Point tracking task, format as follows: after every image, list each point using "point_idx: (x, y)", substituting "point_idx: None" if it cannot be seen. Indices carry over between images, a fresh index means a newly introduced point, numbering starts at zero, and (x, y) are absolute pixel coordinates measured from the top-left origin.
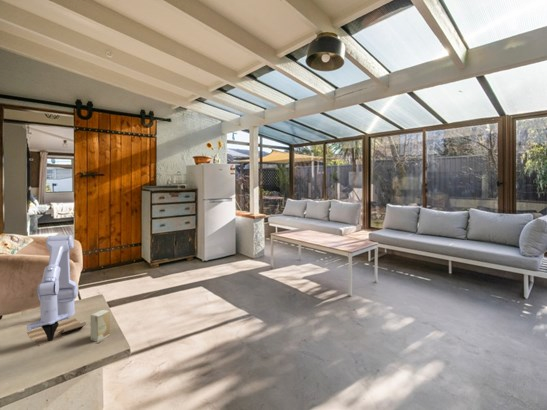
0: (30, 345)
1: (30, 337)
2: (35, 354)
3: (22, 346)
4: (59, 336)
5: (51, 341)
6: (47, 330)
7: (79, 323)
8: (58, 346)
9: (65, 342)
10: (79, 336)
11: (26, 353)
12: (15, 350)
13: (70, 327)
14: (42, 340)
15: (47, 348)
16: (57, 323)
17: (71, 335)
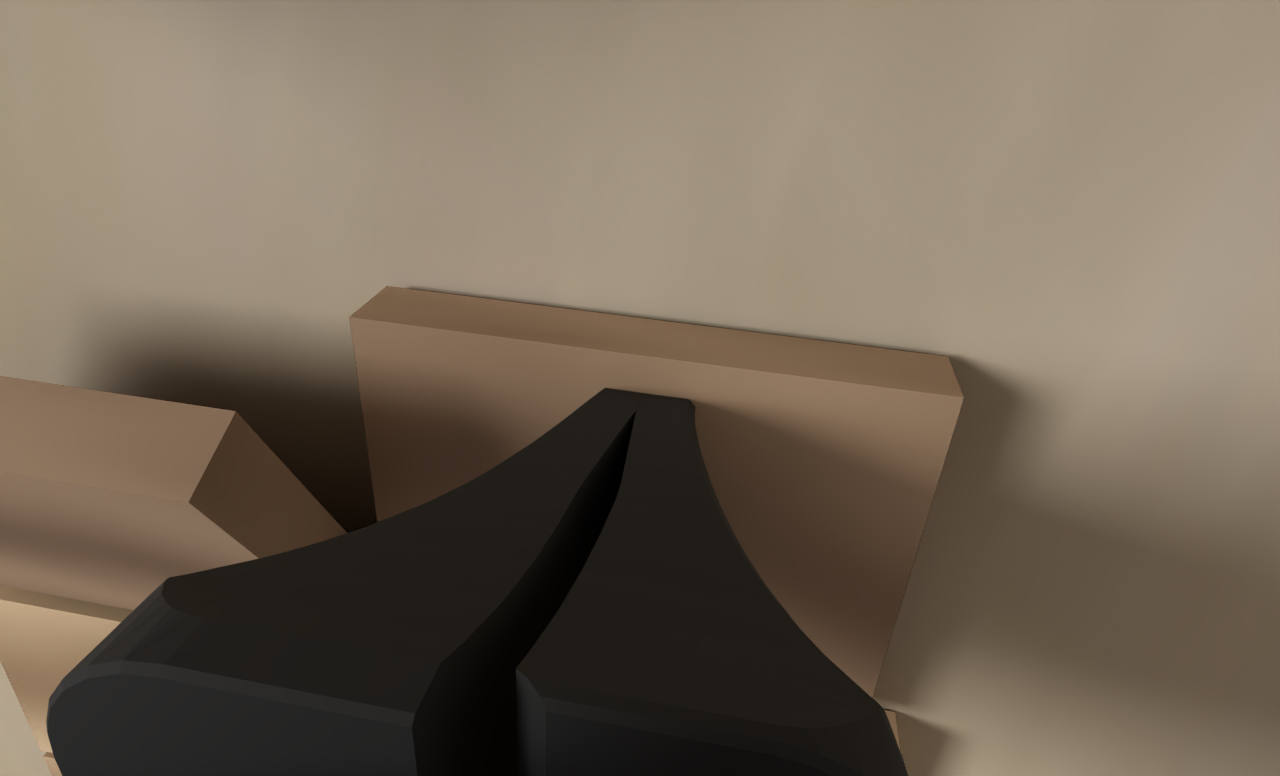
0: (966, 649)
1: None
2: (1188, 82)
3: (1075, 731)
4: (424, 446)
5: (646, 350)
6: (713, 633)
7: (14, 659)
8: (574, 24)
9: (379, 113)
10: (54, 150)
11: (1255, 366)
12: (1256, 695)
13: (3, 442)
14: (772, 584)
15: (813, 175)
16: (96, 771)
17: (216, 370)
